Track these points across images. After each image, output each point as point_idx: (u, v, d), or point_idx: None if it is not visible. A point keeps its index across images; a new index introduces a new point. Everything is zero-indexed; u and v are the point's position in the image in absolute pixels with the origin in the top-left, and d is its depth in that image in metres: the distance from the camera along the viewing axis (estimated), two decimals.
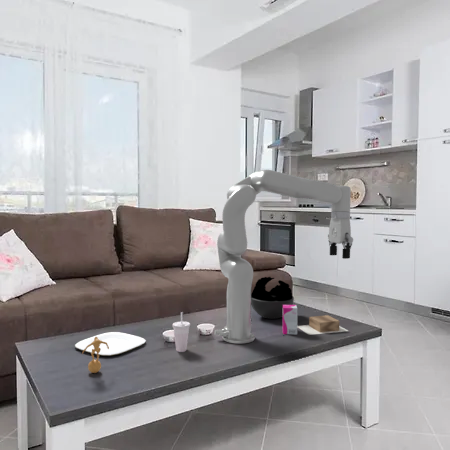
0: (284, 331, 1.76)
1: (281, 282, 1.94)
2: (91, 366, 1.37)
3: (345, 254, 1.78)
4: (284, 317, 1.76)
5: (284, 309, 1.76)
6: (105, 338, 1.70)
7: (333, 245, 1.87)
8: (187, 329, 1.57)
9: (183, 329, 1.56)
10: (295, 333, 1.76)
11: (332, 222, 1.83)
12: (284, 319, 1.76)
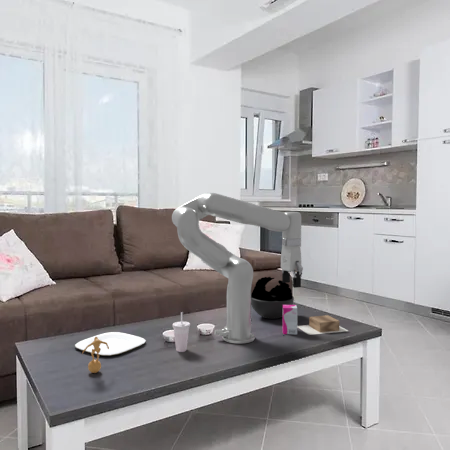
0: (284, 331, 1.76)
1: (281, 282, 1.94)
2: (91, 366, 1.37)
3: (295, 283, 1.72)
4: (284, 317, 1.76)
5: (284, 309, 1.76)
6: (105, 338, 1.70)
7: (286, 272, 1.82)
8: (187, 329, 1.57)
9: (183, 329, 1.56)
10: (295, 333, 1.76)
11: (283, 249, 1.77)
12: (284, 319, 1.76)
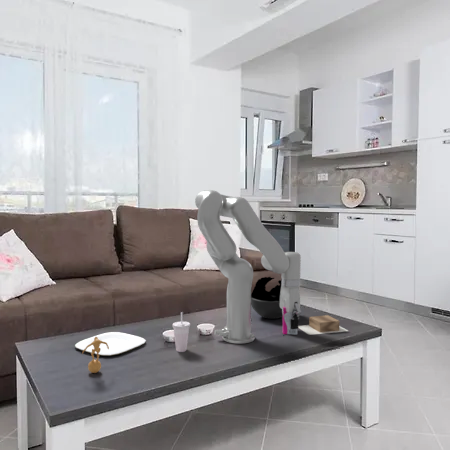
0: (284, 331, 1.76)
1: None
2: (91, 366, 1.37)
3: (293, 325, 1.74)
4: (284, 317, 1.76)
5: (284, 309, 1.76)
6: (105, 338, 1.70)
7: None
8: (187, 329, 1.57)
9: (183, 329, 1.56)
10: (295, 333, 1.76)
11: (282, 289, 1.78)
12: (284, 319, 1.76)
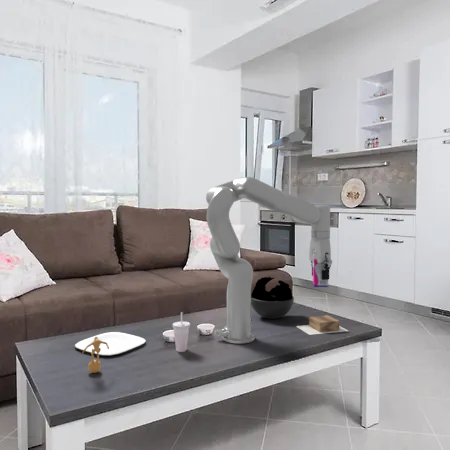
0: (315, 282, 1.79)
1: (281, 282, 1.94)
2: (91, 366, 1.37)
3: (324, 275, 1.77)
4: (315, 268, 1.79)
5: (315, 260, 1.79)
6: (105, 338, 1.70)
7: None
8: (187, 329, 1.57)
9: (183, 329, 1.56)
10: (326, 284, 1.79)
11: (312, 242, 1.82)
12: (315, 270, 1.79)
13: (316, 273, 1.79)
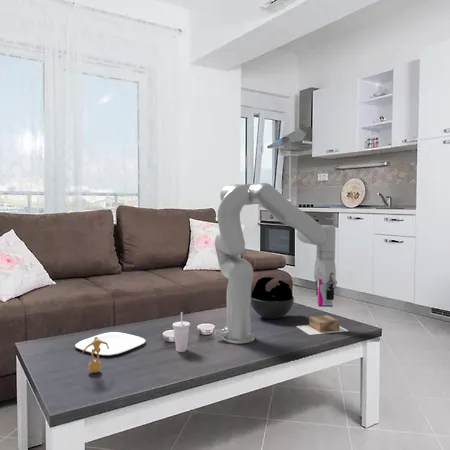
0: (320, 302, 1.81)
1: (281, 282, 1.94)
2: (91, 366, 1.37)
3: (329, 295, 1.78)
4: (320, 288, 1.80)
5: (320, 280, 1.80)
6: (105, 338, 1.70)
7: None
8: (187, 329, 1.57)
9: (183, 329, 1.56)
10: (331, 304, 1.80)
11: (317, 262, 1.83)
12: (320, 290, 1.80)
13: (321, 293, 1.80)
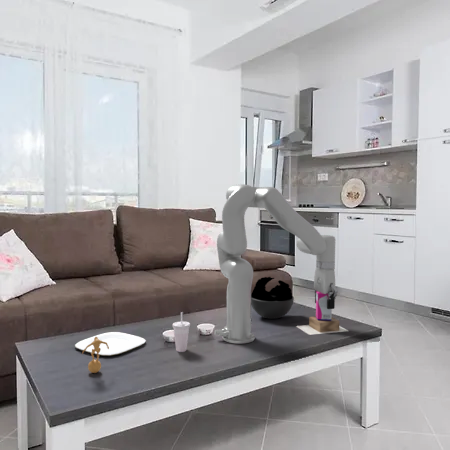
0: (319, 316, 1.81)
1: (281, 282, 1.94)
2: (91, 366, 1.37)
3: (329, 305, 1.78)
4: (319, 302, 1.81)
5: (319, 294, 1.81)
6: (105, 338, 1.70)
7: None
8: (187, 329, 1.57)
9: (183, 329, 1.56)
10: (329, 318, 1.81)
11: (317, 272, 1.83)
12: (319, 304, 1.81)
13: (320, 307, 1.81)
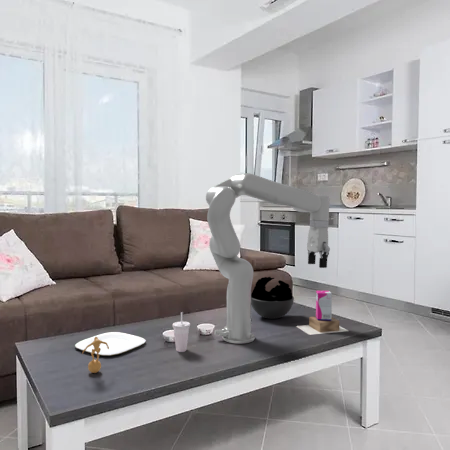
0: (319, 316, 1.81)
1: (281, 282, 1.94)
2: (91, 366, 1.37)
3: (322, 263, 1.77)
4: (319, 302, 1.81)
5: (319, 294, 1.81)
6: (105, 338, 1.70)
7: (312, 254, 1.87)
8: (187, 329, 1.57)
9: (183, 329, 1.56)
10: (329, 318, 1.81)
11: (310, 231, 1.83)
12: (319, 304, 1.81)
13: (320, 307, 1.81)
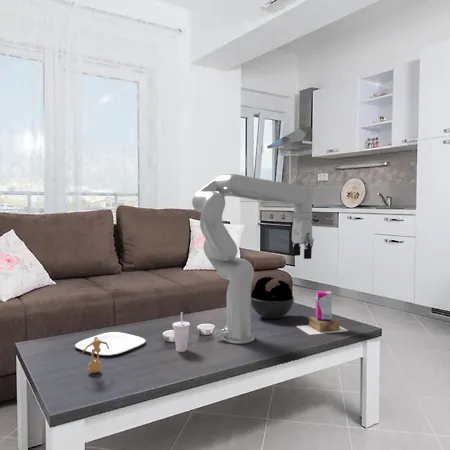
0: (319, 316, 1.81)
1: (281, 282, 1.94)
2: (91, 366, 1.37)
3: (306, 254, 1.79)
4: (319, 302, 1.81)
5: (319, 294, 1.81)
6: (105, 338, 1.70)
7: (296, 245, 1.89)
8: (187, 329, 1.57)
9: (183, 329, 1.56)
10: (329, 318, 1.81)
11: (294, 223, 1.85)
12: (319, 304, 1.81)
13: (320, 307, 1.81)
